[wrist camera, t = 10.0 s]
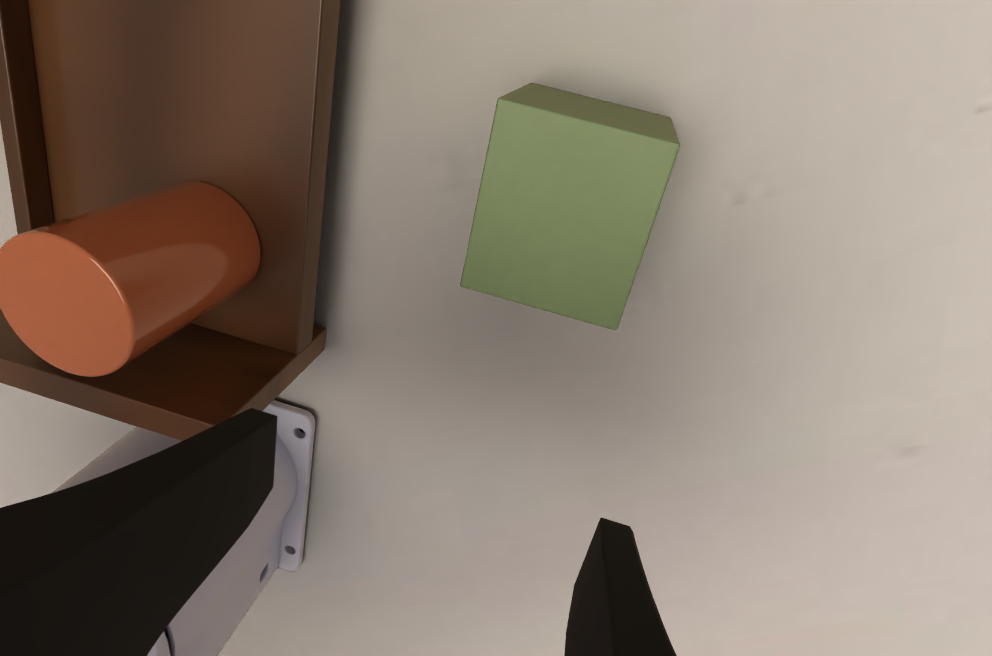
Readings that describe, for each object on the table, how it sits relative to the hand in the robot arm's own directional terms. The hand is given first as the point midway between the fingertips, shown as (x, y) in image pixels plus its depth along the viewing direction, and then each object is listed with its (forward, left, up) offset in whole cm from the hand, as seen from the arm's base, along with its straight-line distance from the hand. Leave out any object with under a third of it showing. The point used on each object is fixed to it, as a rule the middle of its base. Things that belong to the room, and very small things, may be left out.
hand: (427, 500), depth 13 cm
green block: (+5, -1, -10) cm, 12 cm away
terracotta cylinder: (0, +11, -8) cm, 13 cm away
